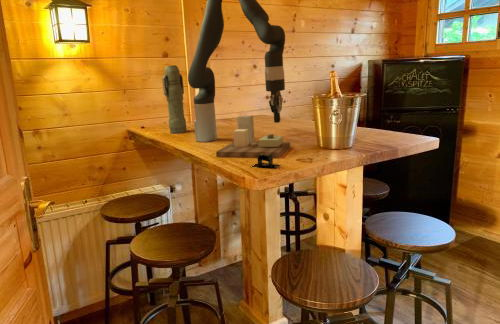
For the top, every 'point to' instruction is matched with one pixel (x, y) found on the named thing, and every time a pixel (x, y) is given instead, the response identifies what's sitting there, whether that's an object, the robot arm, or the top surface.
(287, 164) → the top surface
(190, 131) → the top surface
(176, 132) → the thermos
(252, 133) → the skincare box
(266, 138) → the lid
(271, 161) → the black stand
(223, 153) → the puzzle board
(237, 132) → the cream block
